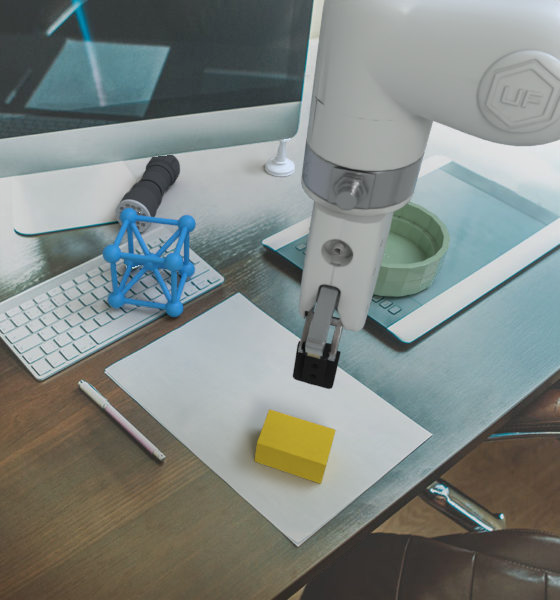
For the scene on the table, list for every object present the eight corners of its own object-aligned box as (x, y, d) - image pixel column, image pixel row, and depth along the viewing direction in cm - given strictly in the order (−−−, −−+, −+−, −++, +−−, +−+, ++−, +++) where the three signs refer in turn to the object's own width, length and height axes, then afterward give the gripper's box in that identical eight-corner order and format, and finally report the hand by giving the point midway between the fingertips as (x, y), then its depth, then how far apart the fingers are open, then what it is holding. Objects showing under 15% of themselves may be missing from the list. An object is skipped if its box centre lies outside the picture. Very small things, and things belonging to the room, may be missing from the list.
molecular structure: (181, 322, 82) (181, 262, 76) (105, 310, 84) (99, 251, 77) (196, 271, 89) (197, 212, 83) (126, 261, 91) (121, 203, 84)
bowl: (443, 240, 93) (454, 209, 89) (431, 312, 83) (443, 280, 79) (334, 217, 98) (340, 186, 94) (310, 282, 87) (316, 250, 84)
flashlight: (151, 174, 107) (150, 145, 104) (182, 180, 106) (183, 150, 102) (116, 228, 97) (113, 198, 93) (150, 235, 95) (149, 205, 92)
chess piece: (279, 157, 110) (285, 102, 103) (301, 169, 107) (309, 113, 100) (258, 167, 108) (263, 112, 101) (280, 180, 105) (287, 124, 98)
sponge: (330, 448, 69) (335, 429, 66) (320, 484, 66) (326, 465, 63) (266, 428, 71) (269, 408, 68) (254, 461, 68) (256, 442, 65)
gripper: (399, 254, 37) (350, 432, 48) (432, 115, 48) (386, 286, 60) (270, 227, 39) (253, 403, 51) (331, 101, 51) (306, 268, 62)
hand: (325, 340), depth 55 cm, fingers open, 9 cm apart
